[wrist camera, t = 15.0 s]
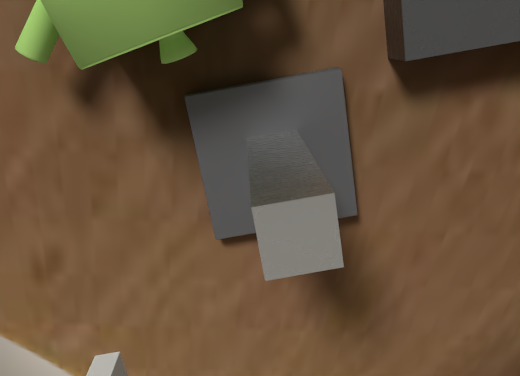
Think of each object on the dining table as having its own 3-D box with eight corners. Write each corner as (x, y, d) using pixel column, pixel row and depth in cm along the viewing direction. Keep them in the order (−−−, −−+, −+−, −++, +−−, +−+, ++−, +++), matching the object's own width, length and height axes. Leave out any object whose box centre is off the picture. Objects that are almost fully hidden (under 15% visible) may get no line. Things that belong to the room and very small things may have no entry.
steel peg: (246, 139, 36) (251, 207, 22) (296, 130, 36) (334, 192, 22) (255, 187, 38) (265, 280, 23) (304, 178, 37) (343, 267, 23)
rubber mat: (186, 94, 36) (184, 96, 35) (337, 67, 36) (341, 68, 35) (216, 232, 40) (215, 239, 39) (353, 208, 40) (357, 215, 39)
